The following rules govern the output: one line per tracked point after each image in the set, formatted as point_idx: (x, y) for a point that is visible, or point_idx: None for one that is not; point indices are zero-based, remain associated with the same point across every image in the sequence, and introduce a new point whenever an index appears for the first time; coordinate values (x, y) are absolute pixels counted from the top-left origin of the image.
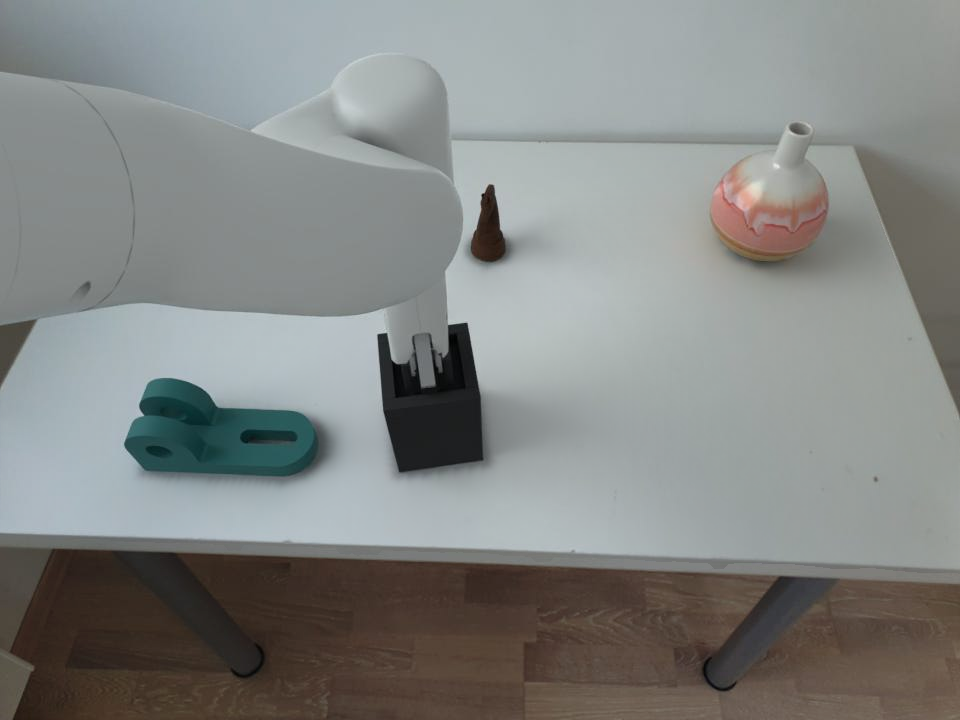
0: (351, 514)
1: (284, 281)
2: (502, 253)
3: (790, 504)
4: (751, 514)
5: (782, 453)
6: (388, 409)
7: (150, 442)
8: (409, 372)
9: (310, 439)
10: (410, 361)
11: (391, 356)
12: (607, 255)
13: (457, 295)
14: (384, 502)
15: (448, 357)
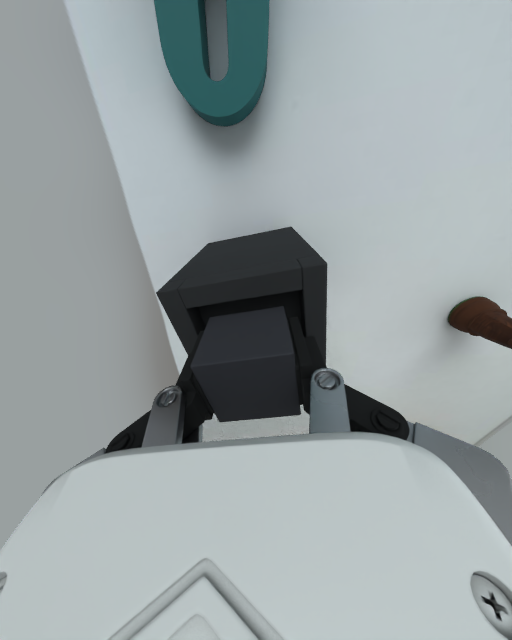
0: (152, 195)
1: None
2: (453, 326)
3: (221, 433)
4: (214, 423)
5: (248, 434)
6: (161, 300)
7: None
8: (182, 374)
9: (217, 111)
10: (146, 436)
11: (24, 519)
12: (409, 388)
13: (418, 285)
14: (174, 231)
15: (222, 419)
